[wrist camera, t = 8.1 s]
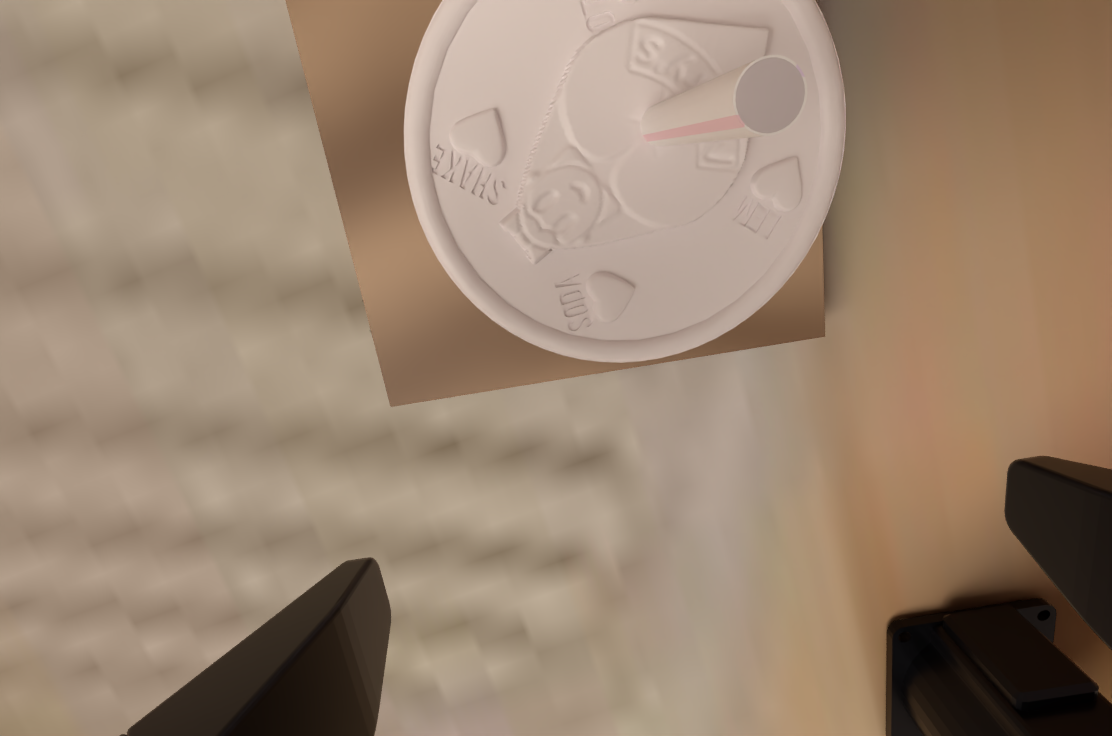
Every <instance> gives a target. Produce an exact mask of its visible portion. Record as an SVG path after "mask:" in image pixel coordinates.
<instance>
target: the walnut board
mask: <svg viewBox="0 0 1112 736" xmlns="http://www.w3.org/2000/svg"><path fill="white" fill-rule="evenodd" d="M815 1H816V3H817V0H815ZM441 2H442V0H286V4H287V8H288V12H289V16H290V20H291V23H292V27H293V31H294V35H295V39H296V43H297V47H298V51H299V54H300V58H301V62H302V66H303V70H304V74H305V78H306V81H307V85H308V89H309V93H310V97H311V101H312V105H313V109H314V112H315V116H316V120H317V124H318V128H319V132H320V136H321V139H322V143H323V147H324V151H325V155H326V159H327V163H328V167H329V170H330V174H331V178H332V182H333V186H334V190H335V194H336V197H337V201H338V205H339V209H340V213H341V217H342V221H343V225H344V228H345V232H346V236H347V240H348V244H349V248H350V252H351V255H352V259H353V263H354V267H355V271H356V275H357V279H358V282H359V286H360V290H361V294H362V298H363V302H364V306H365V310H366V313H367V317H368V321H369V325H370V329H371V333H372V337H373V340H374V344H375V348H376V352H377V356H378V360H379V364H380V368H381V371H382V375H383V379H384V383H385V387H386V391H387V395H388V398H389V402H390V406H391V407H393V406H399V405H405V404H411V403H418V402H424V401H430V400H436V399H442V398H448V397H455V396H461V395H467V394H473V393H479V392H485V391H492V390H498V389H504V388H510V387H516V386H522V385H529V384H535V383H541V382H547V381H553V380H559V379H566V378H572V377H578V376H584V375H590V374H596V373H603V372H609V371H615V370H621V369H627V368H633V367H640V366H646V365H652V364H658V363H664V362H671V361H677V360H683V359H689V358H695V357H701V356H708V355H714V354H720V353H726V352H732V351H738V350H745V349H751V348H757V347H763V346H769V345H775V344H782V343H788V342H794V341H800V340H806V339H812V338H819V337H825V313H824V274H823V235H822V227H821V229H820V231H819V233H818V236H817V237H816V239H815V241H814V243H813V244H812V246H811V248H810V249H809V251H808V253H807V255H806V256H805V258H804V259H803V260H802V262H801V263H800V265H799V266H798V268H797V269H796V270H795V272H794V273H793V274H792V275H791V277H790V278H789V279H788V280H787V281H786V283H785V284H784V285H783V286H782V287H781V289H780V290H779V291H778V292H777V293H776V294H775V295H774V296H773V297H772V298H771V299H770V300H769V301H768V302H767V303H766V304H764V305H763V306H762V307H761V308H760V309H758V310H757V311H756V312H755V313H754V314H752V315H751V316H750V317H749V318H747V319H746V320H744V321H743V322H742V323H740V324H739V325H737V326H736V327H734V328H733V329H731V330H729V331H728V332H726V333H724V334H723V335H721V336H719V337H717V338H716V339H713V340H711V341H709V342H707V343H705V344H702V345H700V346H698V347H696V348H693V349H690V350H687V351H684V352H681V353H679V354H675V355H671V356H667V357H663V358H659V359H652V360H646V361H638V362H623V363H617V362H597V361H589V360H582V359H577V358H573V357H568V356H564V355H560V354H557V353H554V352H551V351H548V350H545V349H543V348H540V347H538V346H536V345H533V344H531V343H529V342H527V341H525V340H523V339H521V338H519V337H518V336H516V335H514V334H512V333H510V332H509V331H507V330H506V329H504V328H503V327H501V326H500V325H498V324H497V323H495V322H494V321H493V320H491V319H490V318H489V317H488V316H487V315H485V314H484V313H483V312H482V311H481V310H479V309H478V308H477V307H476V306H475V305H474V304H473V303H472V302H471V301H470V300H469V299H468V298H467V297H466V296H465V295H464V294H463V293H462V292H461V290H460V289H459V288H458V287H457V285H456V284H455V283H454V282H453V280H452V279H451V278H450V277H449V275H448V274H447V272H446V271H445V269H444V268H443V266H442V265H441V263H440V262H439V260H438V259H437V257H436V255H435V253H434V251H433V250H432V248H431V246H430V244H429V242H428V240H427V238H426V236H425V233H424V231H423V229H422V226H421V224H420V222H419V219H418V216H417V213H416V210H415V207H414V203H413V200H412V196H411V192H410V187H409V183H408V178H407V171H406V163H405V155H404V117H405V104H406V98H407V92H408V86H409V81H410V77H411V73H412V69H413V65H414V61H415V58H416V55H417V53H418V50H419V47H420V44H421V41H422V39H423V36H424V34H425V32H426V30H427V28H428V26H429V24H430V21H431V19H432V17H433V15H434V13H435V12H436V10H437V8H438V7H439V5H440V3H441Z"/></svg>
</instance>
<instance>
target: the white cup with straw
mask: <svg viewBox="0 0 1112 736" xmlns="http://www.w3.org/2000/svg"><path fill="white" fill-rule="evenodd" d="M845 133H846V103H845V93H844V83H843V78H842V73H841V68H840V63H839V58H838V55H837V51H836V48H835V45H834V41H833V38H832V35H831V33H830V30H829V28H828V25H827V23H826V21H825V18H824V16H823V14H822V12H821V10H820V8H819V6H818V4H817V3H816V1H815V0H442V2H441V3H440V5H439V7H438V8H437V10H436V12H435V13H434V15H433V17H432V19H431V21H430V24H429V26H428V28H427V30H426V32H425V34H424V36H423V39H422V41H421V44H420V47H419V50H418V53H417V55H416V58H415V61H414V65H413V69H412V73H411V77H410V81H409V86H408V92H407V98H406V104H405V117H404V155H405V163H406V171H407V178H408V183H409V187H410V192H411V196H412V200H413V203H414V207H415V210H416V213H417V216H418V219H419V222H420V224H421V226H422V229H423V231H424V233H425V236H426V238H427V240H428V242H429V244H430V246H431V248H432V250H433V251H434V253H435V255H436V257H437V259H438V260H439V262H440V263H441V265H442V266H443V268H444V269H445V271H446V272H447V274H448V275H449V277H450V278H451V279H452V280H453V282H454V283H455V284H456V285H457V287H458V288H459V289H460V290H461V292H462V293H463V294H464V295H465V296H466V297H467V298H468V299H469V300H470V301H471V302H472V303H473V304H474V305H475V306H476V307H477V308H478V309H479V310H481V311H482V312H483V313H484V314H485V315H487V316H488V317H489V318H490V319H491V320H493V321H494V322H495V323H497V324H498V325H500V326H501V327H503V328H504V329H506V330H507V331H509V332H510V333H512V334H514V335H516V336H518V337H519V338H521V339H523V340H525V341H527V342H529V343H531V344H533V345H536V346H538V347H540V348H543V349H545V350H548V351H551V352H554V353H557V354H560V355H564V356H568V357H573V358H577V359H582V360H589V361H597V362H617V363H623V362H638V361H646V360H652V359H659V358H663V357H667V356H671V355H675V354H679V353H681V352H684V351H687V350H690V349H693V348H696V347H698V346H700V345H702V344H705V343H707V342H709V341H711V340H713V339H716V338H717V337H719V336H721V335H723V334H724V333H726V332H728V331H729V330H731V329H733V328H734V327H736V326H737V325H739V324H740V323H742V322H743V321H744V320H746V319H747V318H749V317H750V316H751V315H752V314H754V313H755V312H756V311H757V310H758V309H760V308H761V307H762V306H763V305H764V304H766V303H767V302H768V301H769V300H770V299H771V298H772V297H773V296H774V295H775V294H776V293H777V292H778V291H779V290H780V289H781V287H782V286H783V285H784V284H785V283H786V281H787V280H788V279H789V278H790V277H791V275H792V274H793V273H794V272H795V270H796V269H797V268H798V266H799V265H800V263H801V262H802V260H803V259H804V258H805V256H806V255H807V253H808V251H809V249H810V248H811V246H812V244H813V243H814V241H815V239H816V237H817V236H818V233H819V231H820V229H821V227H822V225H823V223H824V221H825V218H826V216H827V214H828V211H829V208H830V205H831V203H832V200H833V197H834V194H835V190H836V187H837V183H838V179H839V175H840V171H841V165H842V159H843V154H844V145H845Z"/></svg>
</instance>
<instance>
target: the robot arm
mask: <svg viewBox="0 0 1112 736" xmlns="http://www.w3.org/2000/svg"><path fill="white" fill-rule="evenodd" d="M1005 518H1006V521H1007V524H1008V526H1009V528H1010V530H1011V531H1012V533H1013V534H1014V535H1015V536H1016V537H1017V539H1018V540H1019V541H1020V542H1021V544H1022V545H1023V546H1024V547H1025V549H1026V550H1027V551H1028V552H1029V554H1030V555H1031V556H1032V557H1033V559H1034V560H1035V561H1036V562H1037V564H1038V565H1039V566H1040V567H1041V569H1042V570H1043V571H1044V572H1045V574H1046V575H1047V576H1048V577H1049V578H1050V580H1051V581H1052V582H1053V583H1054V585H1055V586H1056V587H1057V588H1058V590H1059V591H1060V592H1061V593H1062V595H1063V596H1064V597H1065V598H1066V600H1067V601H1068V602H1069V603H1070V605H1071V606H1072V607H1073V608H1074V609H1075V611H1076V612H1077V613H1078V614H1079V615H1080V616H1081V618H1082V619H1083V620H1084V621H1085V622H1086V623H1087V625H1088V626H1089V627H1090V628H1091V629H1092V630H1093V631H1094V632H1095V633H1096V634H1097V635H1098V636H1099V638H1100V639H1101V640H1102V641H1103V642H1104V643H1105V644H1106V645H1107V646H1108V647H1109V648H1110V649H1111V650H1112V470H1111V469H1107V468H1102V467H1097V466H1092V465H1087V464H1083V463H1078V462H1073V461H1068V460H1063V459H1059V458H1054V457H1049V456H1036V457H1030V458H1023V459H1018V460H1015V461H1013V462H1012V463H1011V464H1010V466H1009V468H1008V472H1007V484H1006V498H1005ZM1055 621H1056V609H1055V608H1054V607H1053V606H1052V605H1051V604H1050V603H1048V602H1047V601H1046V600H1044V599H1042V598H1036V599H1030V600H1023V601H1017V602H1010V603H1004V604H998V605H991V606H985V607H978V608H972V609H966V610H959V611H953V612H946V613H940V614H933V615H927V616H921V617H914V618H908V619H901V620H897V621H894V622H893V623H891V624H890V626H889V627H888V629H887V673H886V736H1112V704H1111V703H1110V702H1109V701H1108V700H1107V699H1106V698H1105V697H1104V696H1103V695H1102V694H1101V693H1100V692H1098V689H1099V687H1098V685H1097V684H1096V683H1095V682H1094V681H1093V680H1092V679H1091V678H1090V677H1089V676H1088V675H1087V674H1086V673H1084V672H1083V671H1082V670H1081V669H1080V668H1079V667H1078V666H1077V665H1076V664H1075V663H1074V662H1073V661H1071V660H1070V659H1069V658H1068V657H1067V656H1066V655H1065V654H1064V653H1063V652H1062V651H1061V650H1060V649H1058V648H1057V647H1056V646H1055V645H1054V644H1053V640H1054V631H1055ZM390 626H391V609H390V604H389V600H388V596H387V593H386V589H385V586H384V582H383V578H382V575H381V571H380V568H379V565H378V563H377V561H376V560H375V559H374V558H362V559H355V560H348V561H346V562H344V563H342V564H341V565H340V566H338V567H337V568H336V569H335V570H333V571H332V572H331V573H329V574H328V575H327V576H326V577H324V578H323V579H322V580H320V581H319V582H318V583H316V584H315V585H314V586H313V587H311V588H310V589H309V590H307V591H306V592H305V593H304V594H302V595H301V596H300V597H298V598H297V599H296V600H294V601H293V602H292V603H291V604H289V605H288V606H287V607H285V608H284V609H283V610H282V611H280V612H279V613H278V614H276V615H275V616H274V617H272V618H271V619H270V620H269V621H267V622H266V623H265V624H263V625H262V626H261V627H260V628H258V629H257V630H256V631H254V632H253V633H252V634H251V635H249V636H248V637H247V638H245V639H244V640H243V641H241V642H240V643H239V644H238V645H236V646H235V647H234V648H232V649H231V650H230V651H229V652H227V653H226V654H225V655H223V656H222V657H221V658H219V659H218V660H217V661H216V662H214V663H213V664H212V665H210V666H209V667H208V668H207V669H205V670H204V671H203V672H201V673H200V674H199V675H198V676H196V677H195V678H194V679H192V680H191V681H190V682H188V683H187V684H186V685H185V686H183V687H182V688H181V689H179V690H178V691H177V692H176V693H174V694H173V695H172V696H170V697H169V698H168V699H166V700H165V701H164V702H163V703H161V704H160V705H159V706H157V707H156V708H155V709H154V710H152V711H151V712H150V713H148V714H147V715H146V716H144V717H143V718H142V719H141V720H139V721H138V722H137V723H135V724H134V725H133V726H132V727H130V728H129V729H128V731H127V735H126V734H121V735H120V736H374V734H375V730H376V725H377V719H378V713H379V707H380V699H381V692H382V684H383V677H384V670H385V662H386V655H387V648H388V640H389V633H390ZM903 632H904V633H903ZM901 633H903V634H901ZM900 634H901V635H900Z"/></svg>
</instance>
